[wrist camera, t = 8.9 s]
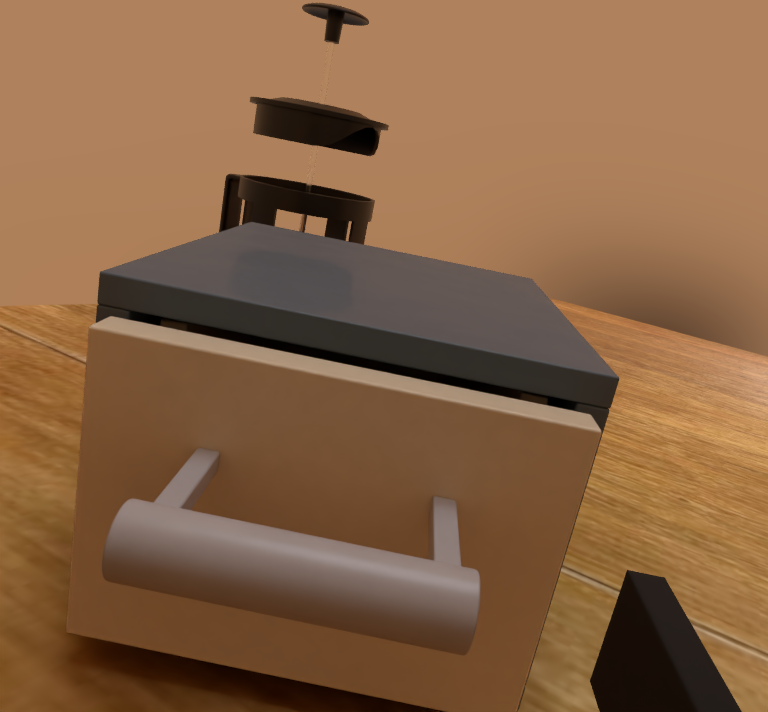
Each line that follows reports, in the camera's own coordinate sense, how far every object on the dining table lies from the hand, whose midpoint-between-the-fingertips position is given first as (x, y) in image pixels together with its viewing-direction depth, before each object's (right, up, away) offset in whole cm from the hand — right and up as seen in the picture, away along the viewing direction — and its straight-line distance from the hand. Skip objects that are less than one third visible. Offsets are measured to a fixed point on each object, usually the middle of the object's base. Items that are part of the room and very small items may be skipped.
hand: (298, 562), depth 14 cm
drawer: (-1, -3, +10) cm, 10 cm away
